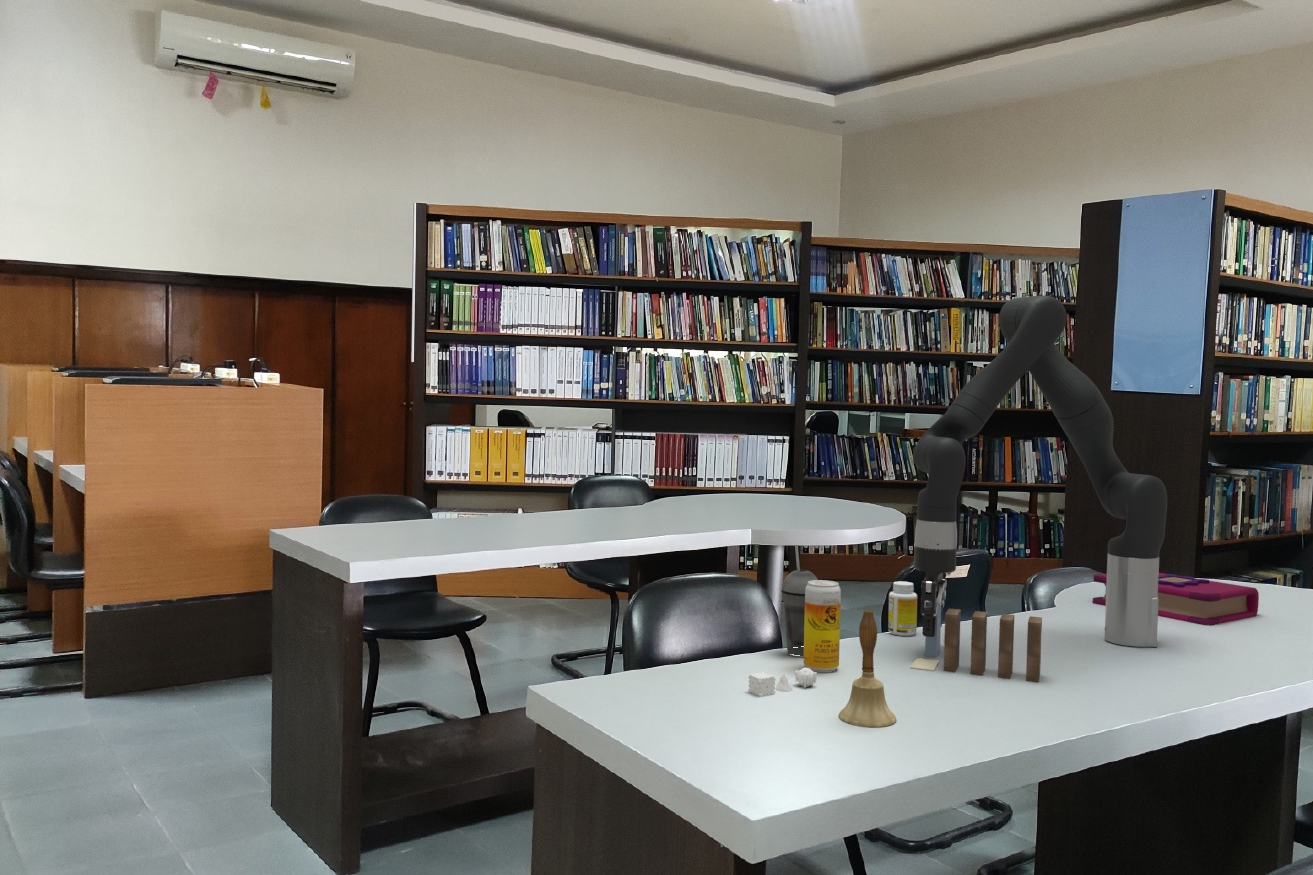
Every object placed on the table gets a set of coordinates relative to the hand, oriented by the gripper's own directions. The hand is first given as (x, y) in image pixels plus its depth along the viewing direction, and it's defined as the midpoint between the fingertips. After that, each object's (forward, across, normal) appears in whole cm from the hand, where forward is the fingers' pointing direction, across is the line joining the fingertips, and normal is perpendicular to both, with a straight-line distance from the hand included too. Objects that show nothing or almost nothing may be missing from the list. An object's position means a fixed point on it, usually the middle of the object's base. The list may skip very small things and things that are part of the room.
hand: (932, 631), depth 187 cm
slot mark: (+4, -9, 0) cm, 10 cm away
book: (+4, +69, -44) cm, 82 cm away
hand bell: (+5, -44, +3) cm, 44 cm away
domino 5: (+4, -9, -18) cm, 21 cm away
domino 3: (+4, -9, -9) cm, 13 cm away
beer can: (+4, -20, +16) cm, 26 cm away
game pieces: (+5, -35, +18) cm, 40 cm away
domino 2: (+4, -9, -5) cm, 11 cm away
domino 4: (+4, -9, -14) cm, 17 cm away
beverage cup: (+4, -12, +22) cm, 25 cm away
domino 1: (+4, 0, 0) cm, 4 cm away
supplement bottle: (+4, +14, +8) cm, 17 cm away
